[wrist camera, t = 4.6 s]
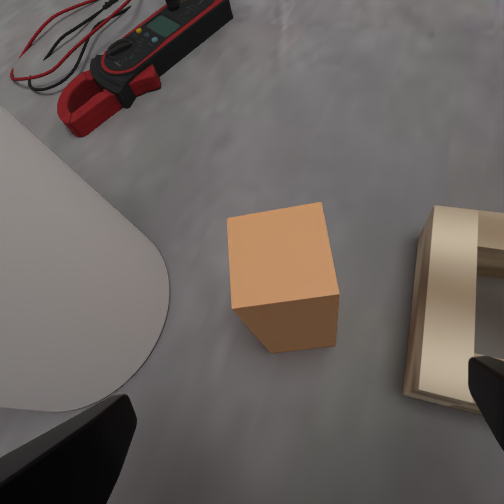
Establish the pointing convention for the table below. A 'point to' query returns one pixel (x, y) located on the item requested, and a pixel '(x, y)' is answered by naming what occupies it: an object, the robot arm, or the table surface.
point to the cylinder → (69, 283)
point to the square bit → (284, 277)
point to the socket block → (455, 304)
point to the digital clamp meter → (130, 59)
